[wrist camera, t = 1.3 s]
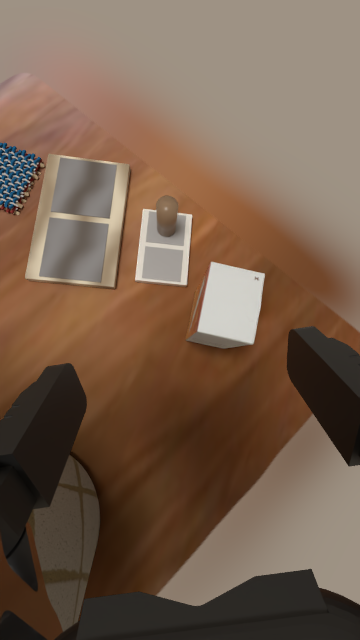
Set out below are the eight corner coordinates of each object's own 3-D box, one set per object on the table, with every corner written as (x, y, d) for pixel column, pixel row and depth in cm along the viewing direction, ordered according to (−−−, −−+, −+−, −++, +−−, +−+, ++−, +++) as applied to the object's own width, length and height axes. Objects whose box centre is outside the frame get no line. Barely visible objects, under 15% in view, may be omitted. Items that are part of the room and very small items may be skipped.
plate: (135, 281, 39) (130, 265, 32) (143, 212, 41) (140, 182, 34) (186, 287, 40) (191, 271, 33) (191, 218, 42) (197, 189, 35)
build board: (29, 280, 38) (24, 277, 36) (51, 159, 41) (48, 152, 40) (115, 289, 39) (113, 286, 37) (130, 169, 42) (129, 163, 41)
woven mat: (-43, 196, 40) (-53, 187, 38) (-11, 143, 41) (-19, 132, 39) (19, 219, 40) (12, 212, 38) (48, 166, 42) (43, 156, 40)
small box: (194, 291, 40) (210, 259, 27) (232, 300, 40) (267, 272, 27) (184, 341, 38) (196, 332, 25) (223, 349, 39) (255, 345, 26)
